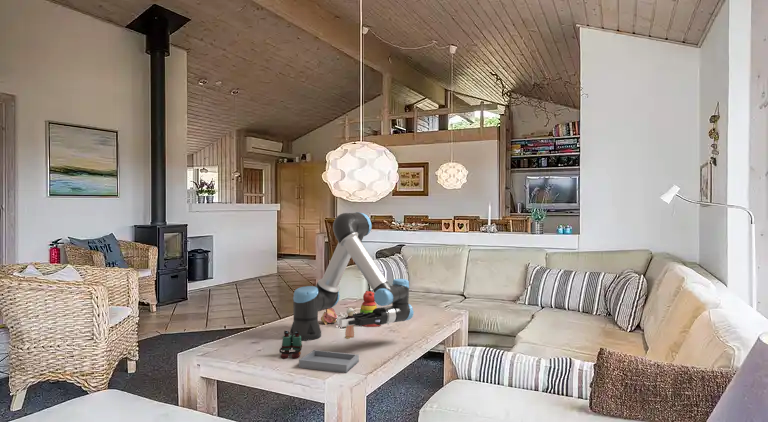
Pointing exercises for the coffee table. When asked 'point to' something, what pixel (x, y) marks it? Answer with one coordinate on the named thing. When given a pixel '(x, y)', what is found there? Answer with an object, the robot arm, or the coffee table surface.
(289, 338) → the binoculars
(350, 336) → the grandmother figurine
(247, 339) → the coffee table surface
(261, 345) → the coffee table surface
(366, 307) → the stacking bear
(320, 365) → the tray
